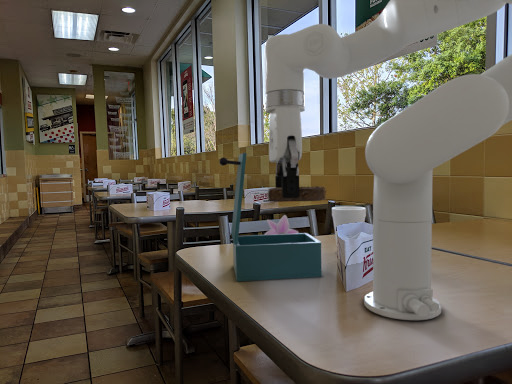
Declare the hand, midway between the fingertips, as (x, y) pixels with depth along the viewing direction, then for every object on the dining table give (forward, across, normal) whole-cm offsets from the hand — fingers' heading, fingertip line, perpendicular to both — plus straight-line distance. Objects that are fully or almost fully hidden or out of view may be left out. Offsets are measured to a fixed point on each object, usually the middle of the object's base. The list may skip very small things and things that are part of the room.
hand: (287, 195), depth 74 cm
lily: (+20, -40, +6) cm, 45 cm away
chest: (+19, -16, 0) cm, 25 cm away
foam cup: (+20, -31, +24) cm, 44 cm away
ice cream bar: (+1, 0, 0) cm, 1 cm away
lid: (+1, -16, -8) cm, 18 cm away
